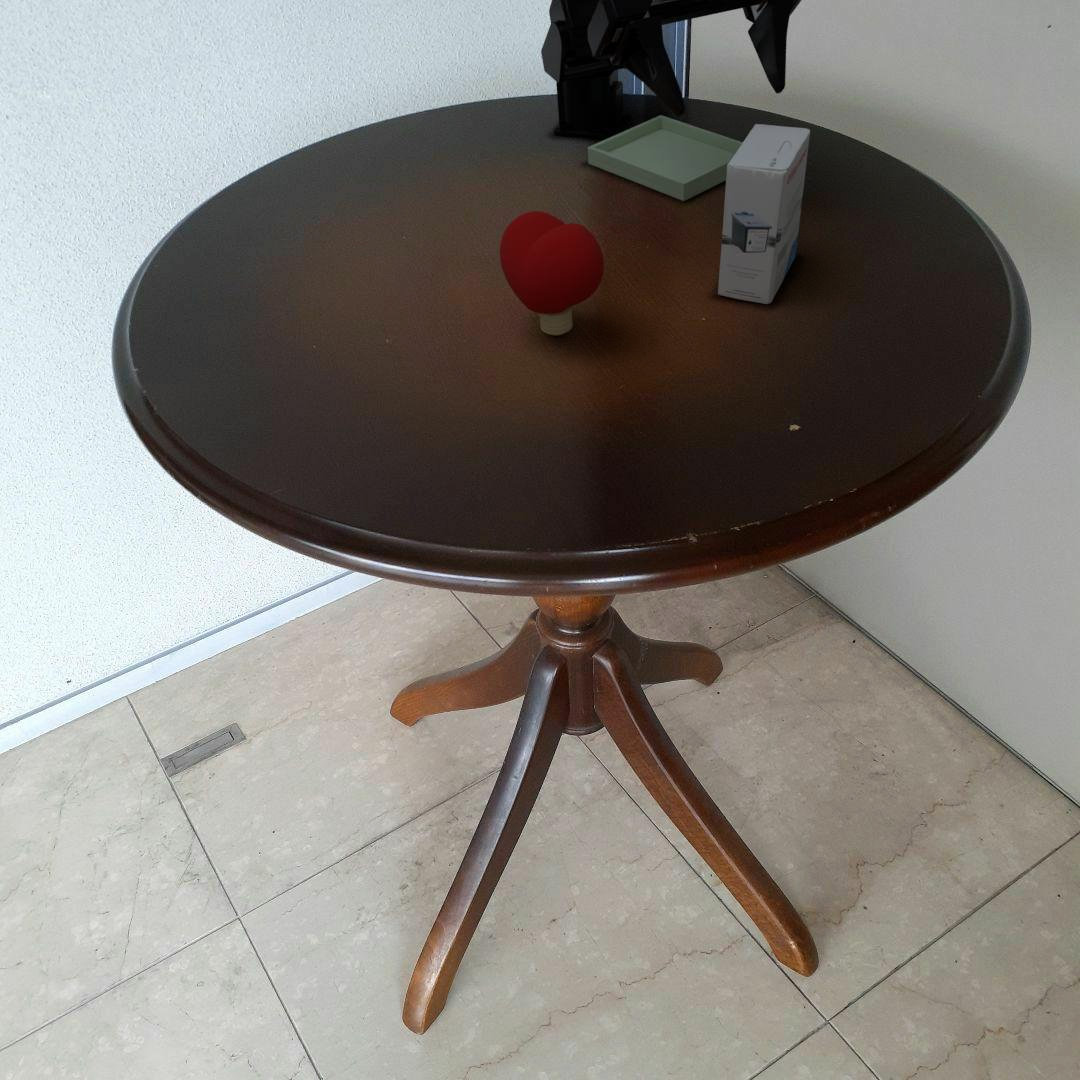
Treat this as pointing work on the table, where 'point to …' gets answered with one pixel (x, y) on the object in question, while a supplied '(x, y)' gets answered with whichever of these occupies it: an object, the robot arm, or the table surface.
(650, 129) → the tray
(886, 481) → the table surface
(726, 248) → the ink box
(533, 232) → the red heart on stand
